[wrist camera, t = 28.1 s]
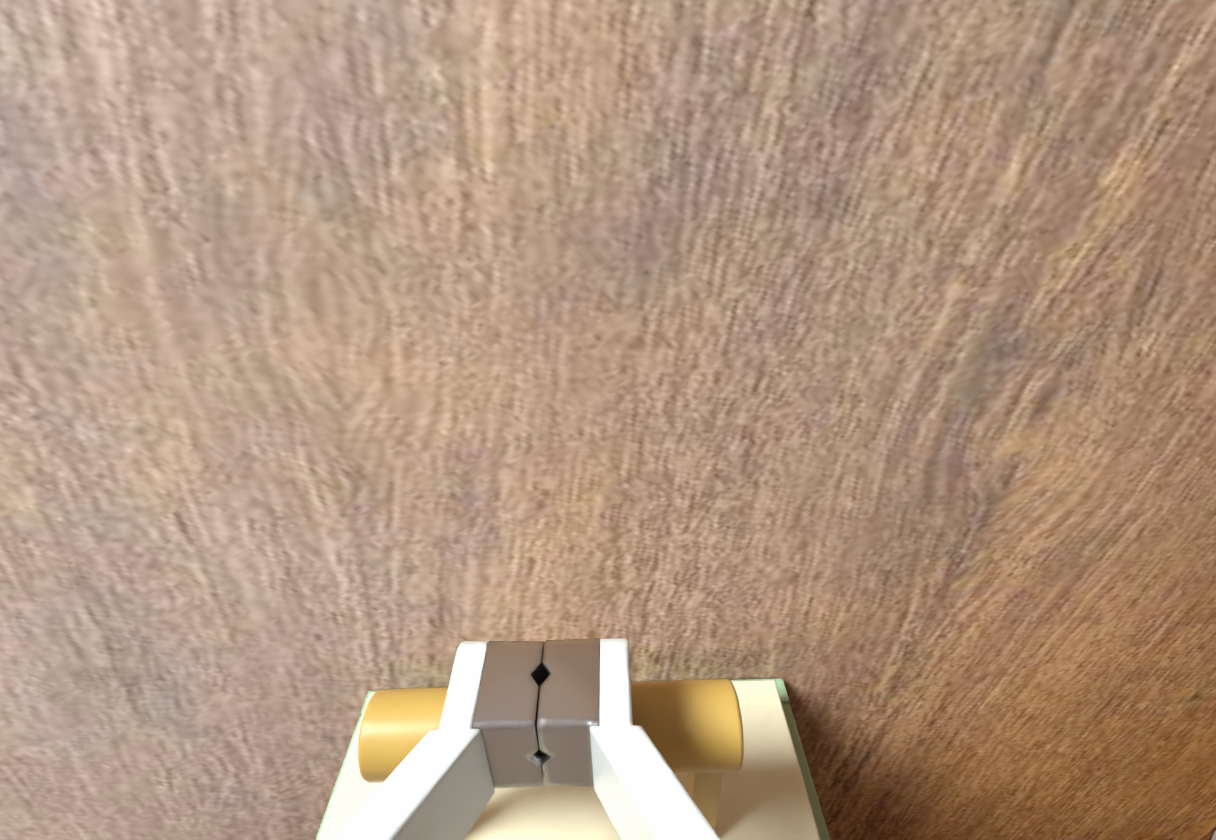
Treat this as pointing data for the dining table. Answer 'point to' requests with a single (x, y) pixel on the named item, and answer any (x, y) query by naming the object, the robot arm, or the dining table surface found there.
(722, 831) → the drawer
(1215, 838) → the coffee cup
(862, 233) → the dining table surface
